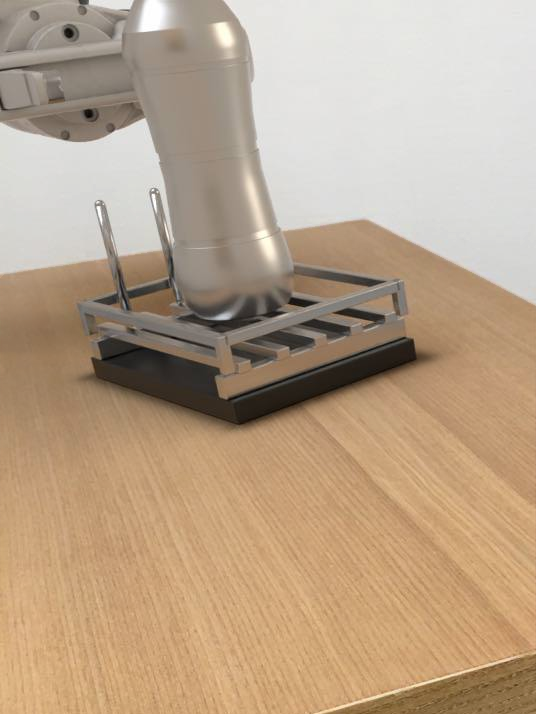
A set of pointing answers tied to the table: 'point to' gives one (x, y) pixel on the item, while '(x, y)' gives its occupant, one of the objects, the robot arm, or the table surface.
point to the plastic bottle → (208, 156)
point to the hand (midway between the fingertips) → (130, 76)
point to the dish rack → (243, 340)
